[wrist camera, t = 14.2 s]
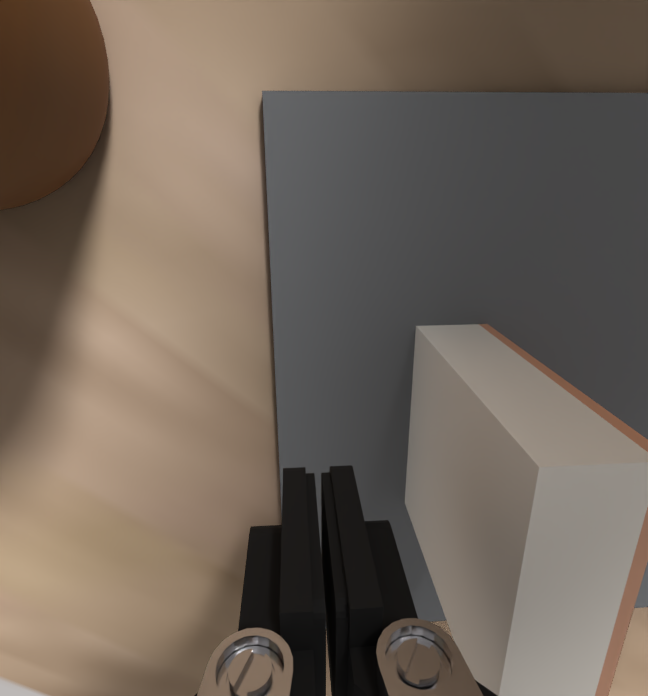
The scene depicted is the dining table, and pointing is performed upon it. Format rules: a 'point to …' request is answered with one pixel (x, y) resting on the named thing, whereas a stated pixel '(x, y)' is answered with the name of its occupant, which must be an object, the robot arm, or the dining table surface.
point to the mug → (48, 95)
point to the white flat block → (524, 513)
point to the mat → (447, 264)
